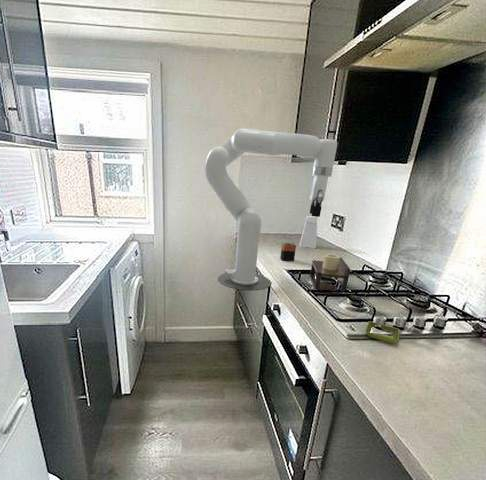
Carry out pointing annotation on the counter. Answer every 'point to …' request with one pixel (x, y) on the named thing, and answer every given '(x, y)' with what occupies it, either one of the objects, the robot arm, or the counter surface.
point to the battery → (288, 251)
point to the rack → (329, 275)
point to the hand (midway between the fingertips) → (314, 215)
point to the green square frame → (383, 337)
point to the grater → (309, 235)
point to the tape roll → (331, 262)
